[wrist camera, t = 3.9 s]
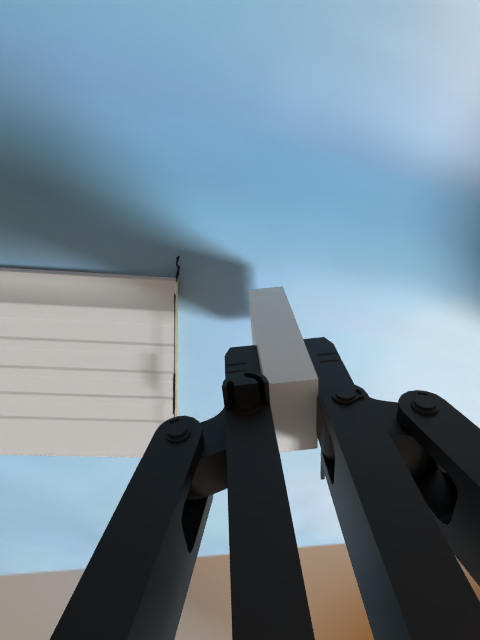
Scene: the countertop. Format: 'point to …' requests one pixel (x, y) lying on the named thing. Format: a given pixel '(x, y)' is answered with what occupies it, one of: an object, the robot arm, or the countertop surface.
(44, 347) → the baseboard
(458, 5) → the countertop surface
